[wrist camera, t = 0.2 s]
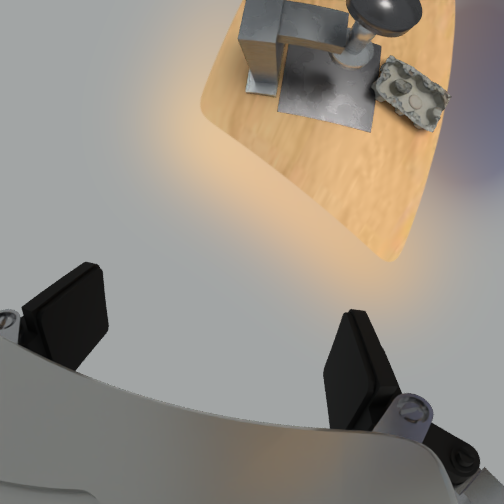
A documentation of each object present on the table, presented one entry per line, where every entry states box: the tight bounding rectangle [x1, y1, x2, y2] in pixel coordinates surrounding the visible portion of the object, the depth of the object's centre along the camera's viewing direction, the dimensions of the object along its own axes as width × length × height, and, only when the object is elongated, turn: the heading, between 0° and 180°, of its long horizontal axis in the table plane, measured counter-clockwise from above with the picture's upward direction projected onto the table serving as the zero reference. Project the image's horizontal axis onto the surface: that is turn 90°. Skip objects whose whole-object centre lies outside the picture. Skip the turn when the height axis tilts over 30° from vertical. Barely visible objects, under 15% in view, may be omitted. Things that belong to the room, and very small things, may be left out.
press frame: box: [238, 0, 381, 133], centre depth 25 cm, size 14×18×17 cm
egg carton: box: [371, 55, 451, 132], centre depth 30 cm, size 11×8×4 cm
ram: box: [328, 0, 422, 70], centre depth 17 cm, size 5×5×13 cm
